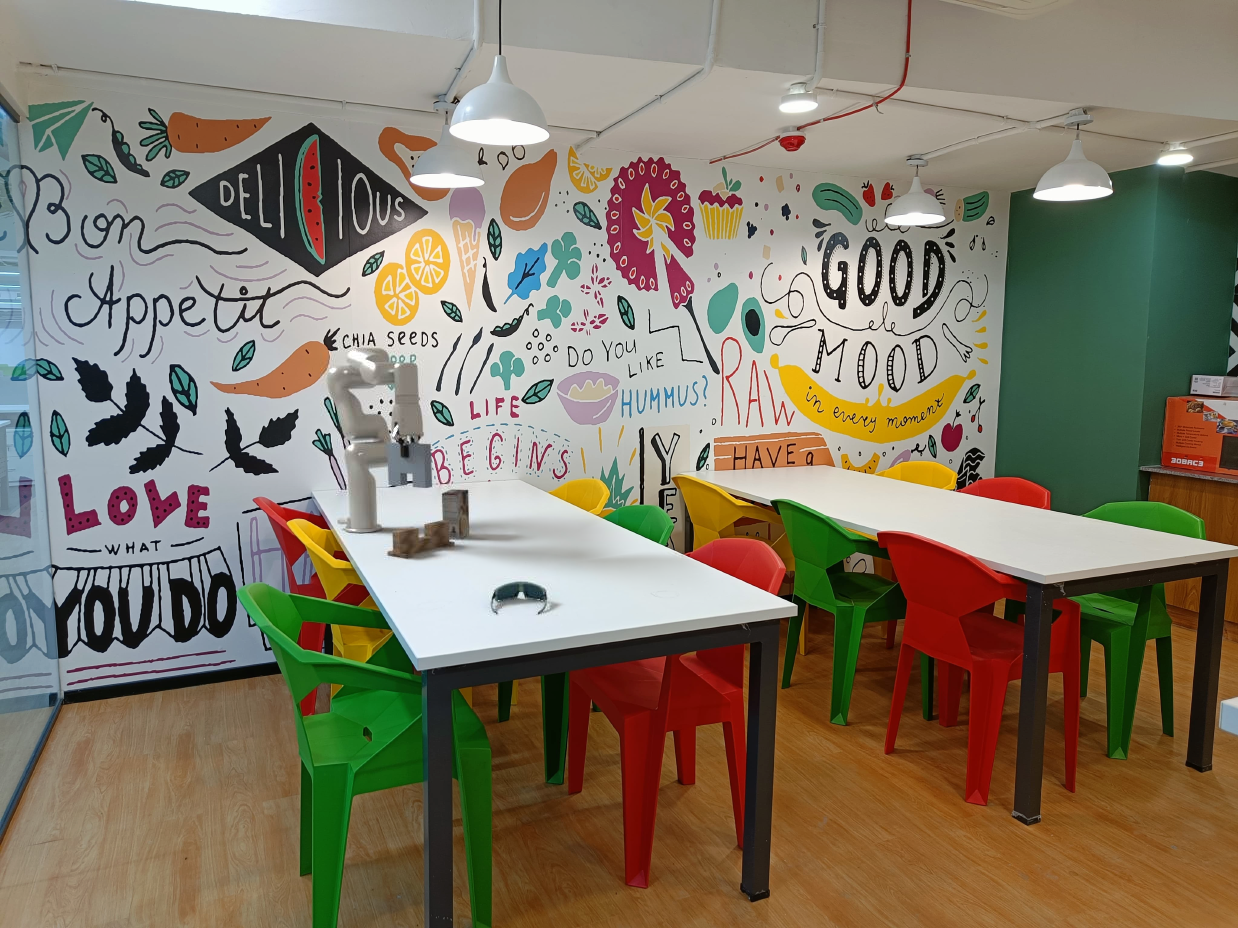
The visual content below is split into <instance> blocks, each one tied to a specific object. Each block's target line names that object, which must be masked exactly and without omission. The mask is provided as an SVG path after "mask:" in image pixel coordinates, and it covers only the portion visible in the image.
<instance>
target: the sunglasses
mask: <svg viewBox="0 0 1238 928" xmlns="http://www.w3.org/2000/svg"><path fill="white" fill-rule="evenodd" d="M520 593H523V595H524V596H523V597H524V598H525V599H528V598H533V599H532V600H537V599H540V600H539V601H541V600H543V601H544V605H543V606H542V608H540V610H539V611H538V612H537V613H539V614H541V613H542V612H544V610H545V609H546V607H547V606H548V605H547V604H548V596H547V590H546V589H545V588H544V587H543V586H541V585H540V584H536V583H534V582H530V581H521V580H520V581H512V582H508V583H504V584H503V585H500V586H498V587H496V588H495V589H493V594H492V596H491V600H490V608H491V610H492V612H493V613H494V614H495V613H496V614H498V612H497V611H496V610H495V609H494V606H493V604H494V601H496V602H497V601H498V600H501V601H504V600H503V599H506V600H509V599H508V598H515V599H516V598H517V599H518V597H519V595H520ZM543 601H542V602H543ZM498 602H499V601H498ZM540 612H541V613H540ZM496 614H495V615H496Z"/></svg>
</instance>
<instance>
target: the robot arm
mask: <svg viewBox="0 0 1238 928" xmlns="http://www.w3.org/2000/svg"><path fill="white" fill-rule="evenodd" d="M346 363H347V365H337V366H334V367H331V368H330V369H329V371H328V372H327V375H326V384H327V385H326V386H327V390H328V393H329V395H330V397H331V399H332V400H333V403H334V405H335V407H336V411H337V415H338V419H339V423H340V425H341V426H340V427H341V431H342V434H343V436H344V438H345V439H346V440H347V441H350V442H354V443H351V444H349V445H348V446H346V447H345V450H344V461H345V466H346V471H347V481H348V483H347V484H348V485H347V486H348V487H347V488H348V510H349V511H348V512H349V514H348V516H349V517H346V518H337V524H338V525H346V526H345V527H344V529H345V531H346V532H348V533H358V534H359V533H361V534H362V533H363V534H364V533H372V532H373V533H374V532H377V531H380V530H382V528H383V527H382V524H380V523H378V509H377V508H378V507H377V506H378V505H377V482H376V479H375V476H374V475H373V473H371V471H370V469H378V468H379V469H380V468H388V459H387V443H390V442H393V441H392V439H393V440H395V441H396V442H398V444H399V445H400V451H401V458H409V447H408V446H407V443H408V437H409V443H419V442H420V440H421V438H423V437H424V436H425V433H424V431H423V429H424V424H423V423H424V422H423V414H422V409H421V405H420V400H421V398H420V397H419V394H420V393H419V374H418V373H419V369H418V365H417V364H416V362H401V361H399V362H397V361H396V362H395V361H391V359H390V356H389V353H388V352H387V351H386V350H385V349H383V348H379V347H358V348H354V349H351V350H350V351H349V352H348V353H347V355H346ZM376 386H394V405H393V406H392V409H391V411H392V412H391V427H390V428H391V429H390V430H391V431H390V430H389V427H388V423H387V421H386V419H385V418H384V416H383V415H381V414H378V413H364V410H363V407H362V403H361V402H360V399H359V398H358V397H357V396H356V395H355V394H353V392H351V391H350V390H364V389H365V390H369V389H373V388H376ZM390 432H391V434H390ZM360 441H362V442H360ZM363 441H364V442H363Z"/></svg>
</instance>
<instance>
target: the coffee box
mask: <svg viewBox="0 0 1238 928" xmlns="http://www.w3.org/2000/svg"><path fill="white" fill-rule="evenodd" d="M441 501H442V502H441V503H442V505H441V507H442V508H441V509H442V512H441V513H442V520H444V521H449V540H461V539H463V538H464V537H467V536H468V535H470V511H469V510H470V509H469V506H470V505H469V489H456V488H455V489H454V488H453V489H450V490H447V491H445V492H443V493H441Z"/></svg>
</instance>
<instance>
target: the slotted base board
mask: <svg viewBox="0 0 1238 928" xmlns="http://www.w3.org/2000/svg"><path fill="white" fill-rule="evenodd" d="M419 529H420V528H419V527H413V526H410V527H405V528H400V529H397V530H393V531H392V550H388V551H387V556H389V557H390V556H391V557H395V558H400V559H404V560H407V559H410V558H413V555H415V554H419V553H422V552H426V551H430V550H434V549H438V548H442V547H444V548H451V547H455V545H456V543H455V541H452V540H451V541H450V539H449V521H444V520H443V519H441V520H436V521H433V522H428V523H424V536H419V534H420V533H419V531H420V530H419Z"/></svg>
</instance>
